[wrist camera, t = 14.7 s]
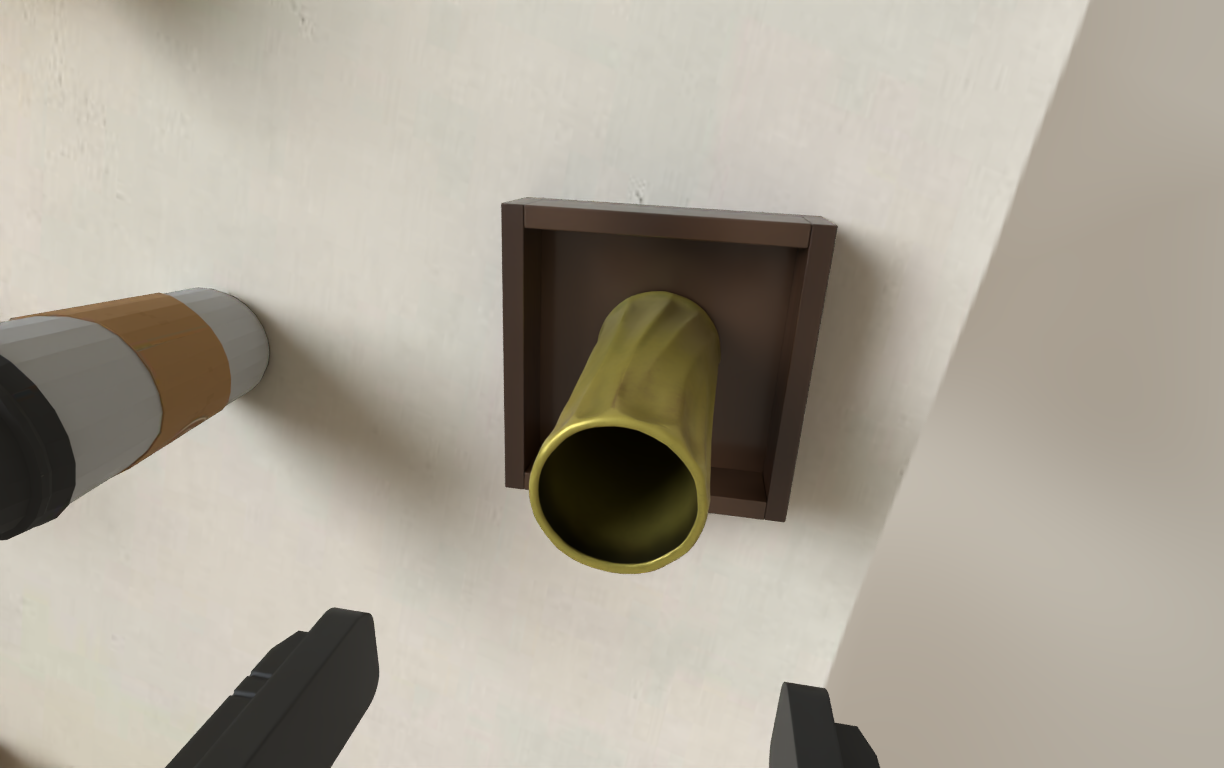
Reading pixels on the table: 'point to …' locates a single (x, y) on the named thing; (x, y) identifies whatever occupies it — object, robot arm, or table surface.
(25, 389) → the coffee cup
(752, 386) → the tray
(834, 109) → the table surface
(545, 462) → the vase
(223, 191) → the table surface
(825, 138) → the table surface
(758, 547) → the table surface
